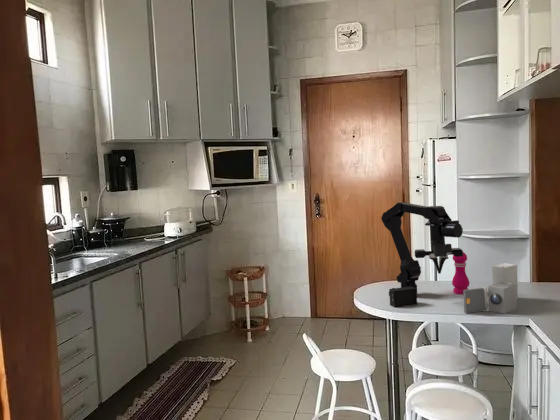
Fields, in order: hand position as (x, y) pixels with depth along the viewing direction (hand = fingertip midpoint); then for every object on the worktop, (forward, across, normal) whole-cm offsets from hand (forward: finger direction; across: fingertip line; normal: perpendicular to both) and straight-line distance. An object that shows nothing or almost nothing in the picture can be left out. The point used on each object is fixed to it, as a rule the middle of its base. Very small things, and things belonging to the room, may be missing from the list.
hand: (439, 273), depth 192 cm
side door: (+12, +11, -15) cm, 22 cm away
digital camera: (+12, -16, -3) cm, 20 cm away
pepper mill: (+12, +11, +15) cm, 22 cm away
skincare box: (+13, +26, +2) cm, 29 cm away
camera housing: (+13, +21, -11) cm, 27 cm away
